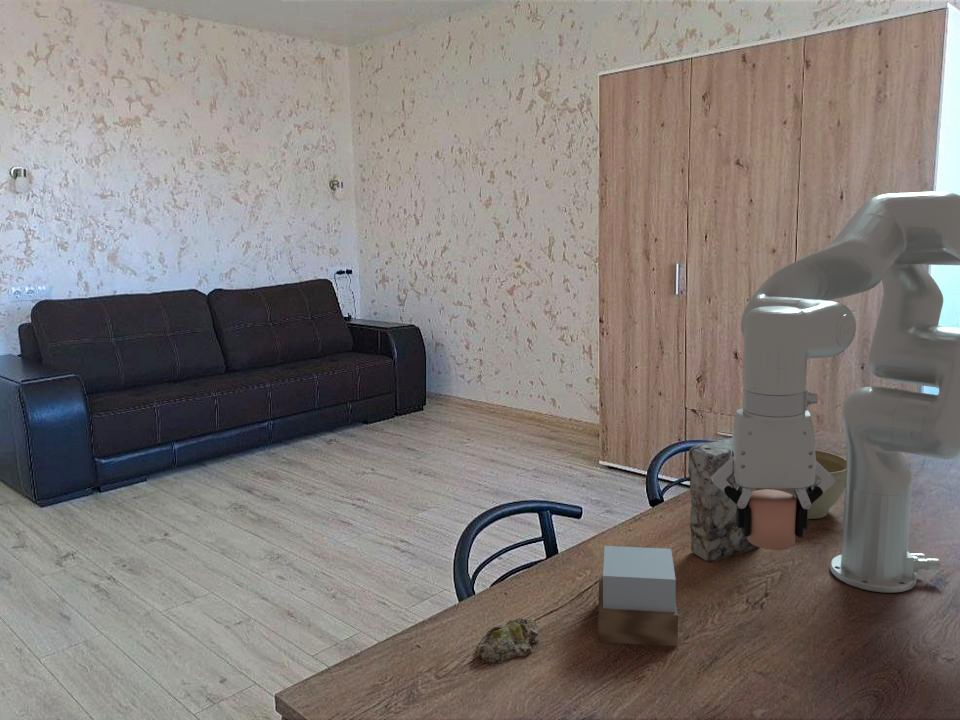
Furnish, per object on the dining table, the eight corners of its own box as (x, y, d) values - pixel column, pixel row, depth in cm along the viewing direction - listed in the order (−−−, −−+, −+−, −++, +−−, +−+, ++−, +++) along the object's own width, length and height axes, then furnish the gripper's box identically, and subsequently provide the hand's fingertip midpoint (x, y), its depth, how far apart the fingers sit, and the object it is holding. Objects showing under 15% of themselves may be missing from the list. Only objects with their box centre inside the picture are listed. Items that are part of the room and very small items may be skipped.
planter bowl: (812, 533, 142) (815, 478, 140) (743, 507, 155) (744, 456, 153) (864, 514, 150) (868, 462, 148) (794, 491, 163) (796, 442, 161)
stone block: (714, 567, 130) (717, 455, 126) (684, 552, 136) (686, 445, 132) (767, 548, 136) (770, 441, 133) (736, 535, 142) (739, 432, 139)
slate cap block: (670, 579, 116) (671, 548, 115) (675, 612, 106) (675, 579, 105) (604, 575, 118) (604, 545, 117) (603, 608, 108) (603, 575, 107)
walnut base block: (671, 608, 117) (671, 578, 116) (677, 648, 106) (678, 615, 106) (599, 605, 119) (599, 575, 118) (598, 643, 108) (598, 611, 107)
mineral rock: (507, 608, 114) (546, 612, 109) (515, 636, 114) (554, 641, 109) (456, 639, 107) (495, 645, 101) (464, 669, 107) (503, 676, 101)
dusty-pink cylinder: (789, 530, 104) (790, 489, 103) (800, 550, 98) (801, 506, 97) (743, 530, 105) (744, 489, 104) (751, 549, 99) (752, 506, 98)
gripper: (836, 394, 100) (831, 522, 103) (701, 396, 103) (700, 520, 106) (854, 409, 93) (848, 546, 96) (708, 411, 95) (708, 544, 99)
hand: (771, 531), depth 101 cm, fingers closed on dusty-pink cylinder, 6 cm apart
